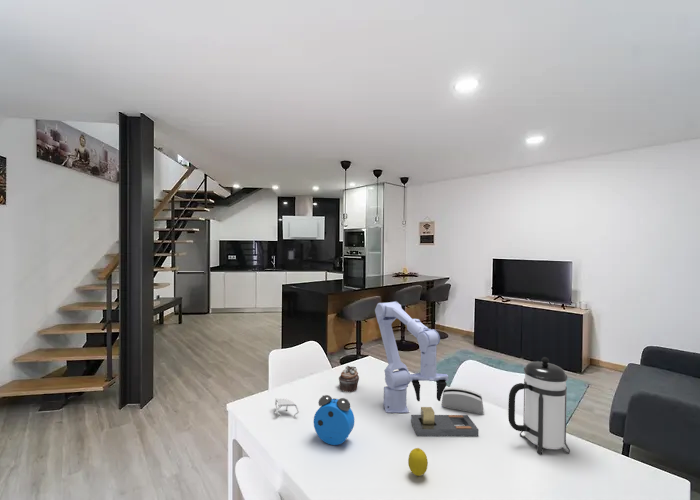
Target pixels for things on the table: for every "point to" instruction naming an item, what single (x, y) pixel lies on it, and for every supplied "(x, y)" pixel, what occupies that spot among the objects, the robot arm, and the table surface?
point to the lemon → (417, 462)
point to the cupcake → (349, 379)
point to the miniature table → (284, 403)
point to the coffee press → (542, 405)
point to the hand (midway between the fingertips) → (428, 400)
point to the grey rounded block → (462, 400)
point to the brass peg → (427, 416)
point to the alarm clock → (333, 420)
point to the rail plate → (445, 426)
